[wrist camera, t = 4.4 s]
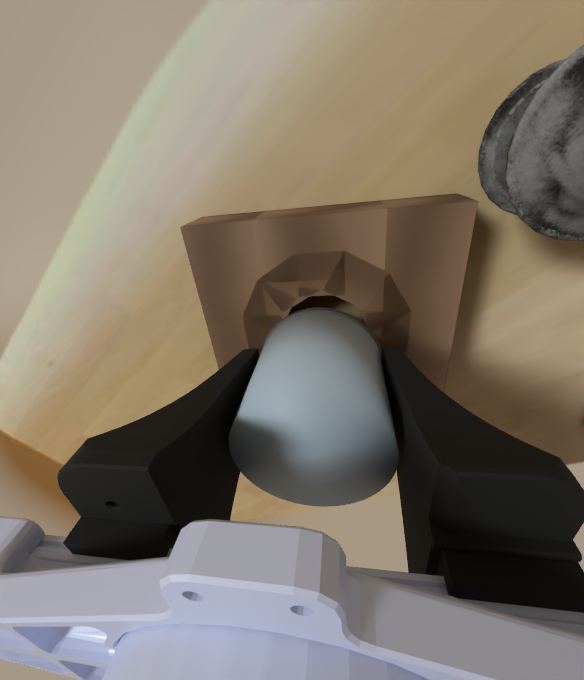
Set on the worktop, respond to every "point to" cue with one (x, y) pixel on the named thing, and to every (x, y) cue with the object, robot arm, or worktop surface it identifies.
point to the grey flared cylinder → (540, 151)
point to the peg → (317, 413)
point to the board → (338, 271)
